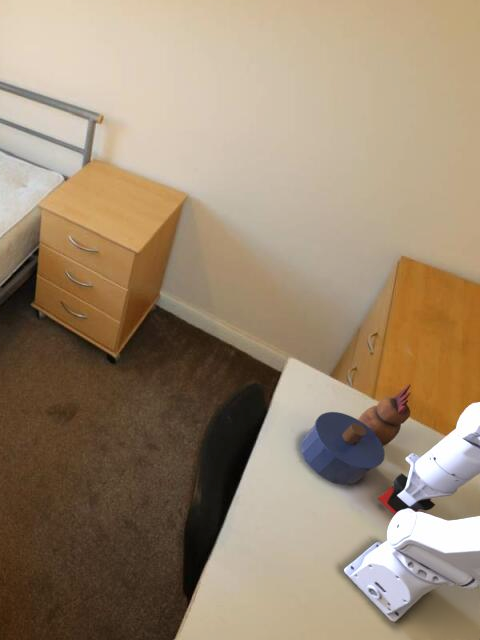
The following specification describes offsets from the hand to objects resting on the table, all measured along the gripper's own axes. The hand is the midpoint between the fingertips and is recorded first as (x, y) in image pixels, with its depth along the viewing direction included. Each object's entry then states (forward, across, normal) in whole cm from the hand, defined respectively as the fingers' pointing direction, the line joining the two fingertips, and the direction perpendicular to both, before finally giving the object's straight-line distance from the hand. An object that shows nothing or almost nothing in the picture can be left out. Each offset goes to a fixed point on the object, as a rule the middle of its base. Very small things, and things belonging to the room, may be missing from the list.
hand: (402, 500), depth 90 cm
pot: (+2, +2, -11) cm, 11 cm away
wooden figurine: (+2, -8, -10) cm, 14 cm away
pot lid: (-4, +2, -11) cm, 12 cm away
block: (+1, 0, 0) cm, 1 cm away
